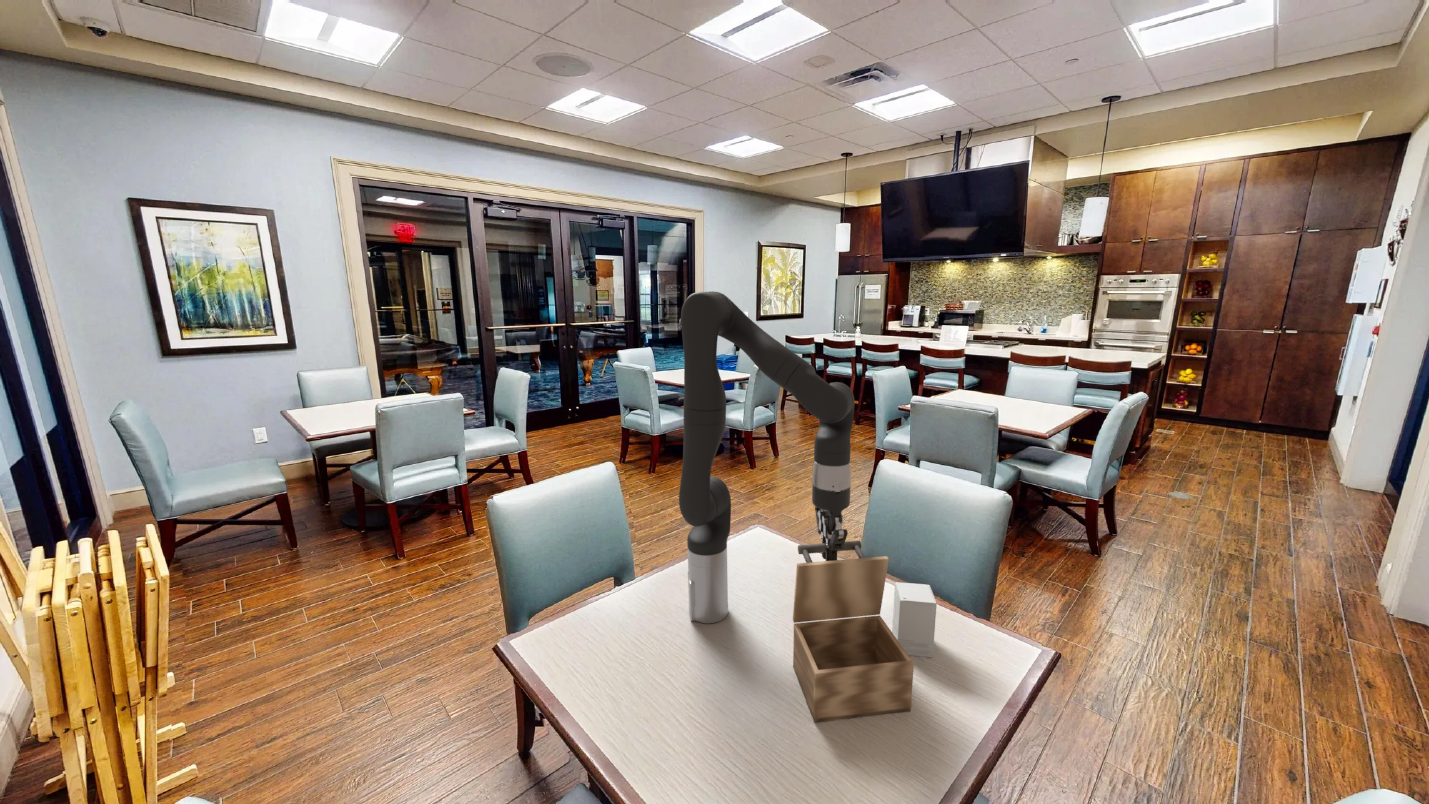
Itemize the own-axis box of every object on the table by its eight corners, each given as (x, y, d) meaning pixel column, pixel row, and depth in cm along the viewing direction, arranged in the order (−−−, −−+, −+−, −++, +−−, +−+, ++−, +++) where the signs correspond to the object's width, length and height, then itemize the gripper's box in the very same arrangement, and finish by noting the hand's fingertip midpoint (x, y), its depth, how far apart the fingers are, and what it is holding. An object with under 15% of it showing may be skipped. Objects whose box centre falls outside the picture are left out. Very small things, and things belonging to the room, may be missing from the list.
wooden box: (814, 722, 92) (815, 673, 89) (793, 667, 105) (793, 623, 103) (910, 711, 94) (913, 663, 91) (877, 658, 107) (879, 615, 105)
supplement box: (933, 658, 107) (937, 603, 104) (896, 654, 108) (899, 600, 106) (926, 635, 114) (930, 584, 111) (891, 632, 115) (894, 580, 113)
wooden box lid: (798, 566, 98) (786, 538, 106) (793, 622, 103) (783, 591, 111) (888, 558, 100) (870, 531, 108) (879, 614, 105) (863, 584, 113)
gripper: (803, 472, 110) (802, 546, 114) (824, 496, 97) (822, 580, 100) (837, 469, 111) (835, 544, 115) (862, 493, 98) (859, 577, 101)
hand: (829, 560), depth 107 cm, fingers closed on wooden box lid, 2 cm apart
